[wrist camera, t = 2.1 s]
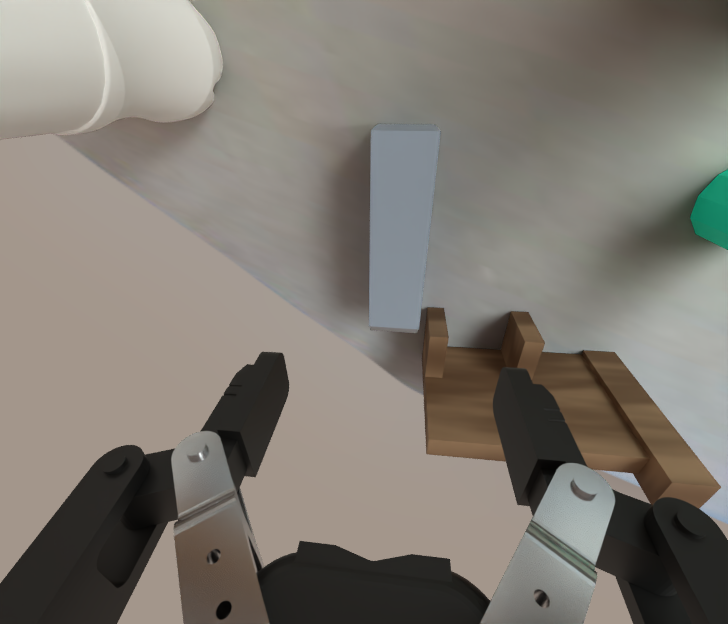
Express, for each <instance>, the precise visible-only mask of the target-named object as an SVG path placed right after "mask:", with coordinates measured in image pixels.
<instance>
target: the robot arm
mask: <svg viewBox="0 0 728 624" xmlns="http://www.w3.org/2000/svg"><path fill="white" fill-rule="evenodd" d="M288 392H289V380H288V375H287V370H286V364H285V360H284V356H283V354H282V353H276V352H262V353H261V354H260V355H259V357H258V358H257V360H256V362H255V364H254V365H248V364H247V365H246V366H245V367H243V368H242V369H241V370H240V371H239V372H237V373H236V375H235V376H234V378H233V379H232V381H231V383H230V384H229V387H228V388H227V389H226V391H225V392H224V396H222V397H221V399H220V401H219V402H218V404H217V406H216V407H215V409H214V410H213V412H212V414H211V415H210V417H209V419H208V420H207V422H206V423H205V425H204V427H203V428H202V430H201V431H200V432H197V433H194V434H192V435H190V436H188V437H186V438H185V439H184V440H183V441H182V442H180V443H179V444H178V446H177V447H176V448H175V449H171V450H166V451H161V452H157V453H151V454H146V455H145V454H144V452H143V451H142V449H141V448H139V447H138V446H135V445H125V446H121V447H118V448H115V449H113V450H111V451H109V452H108V453H106V454H104V455H103V456H102V457H101V458H99V459H98V460H97V461H96V462H95V463H94V465H93V466H92V467H91V468H90V470H89V471H88V472H87V473H86V475H85V476H84V477H83V479H82V480H81V481H80V483H79V484H78V485H77V486H76V488H75V489H74V490H73V491H72V493H71V494H70V496H68V498H67V499H66V500H65V502H64V503H63V504H62V505H61V507H60V508H59V510H58V511H57V512H56V513H55V514H54V516H53V517H52V518H51V519H50V521H49V522H48V523H47V525H46V526H45V527H44V528H43V530H42V531H41V532H40V534H39V535H38V536H37V537H36V539H35V540H34V541H33V542H32V544H31V545H30V546H29V548H28V549H27V550H26V551H25V553H24V554H23V555H22V556H21V558H20V559H19V560H18V562H17V563H16V564H15V565H14V567H13V568H12V569H11V571H10V572H9V573H8V574H7V576H6V577H5V578H4V579H3V581H2V582H1V583H0V624H117V622H118V620H119V618H120V616H121V614H122V613H123V610H124V609H125V606H126V604H127V602H128V601H129V599H130V596H131V595H132V593H133V590H134V589H135V587H136V585H137V583H138V581H139V579H140V577H141V575H142V573H143V571H144V569H145V567H146V565H147V563H148V561H149V559H150V557H151V555H152V553H153V551H154V549H155V547H156V545H157V543H158V541H159V539H160V537H161V535H162V533H163V531H164V529H165V527H166V525H167V523H168V522H169V521H174V520H178V521H177V522H176V523H175V524H174V540H175V549H176V558H177V567H178V577H179V586H180V595H181V604H182V613H183V622H184V624H583V623H584V620H585V617H586V613H587V610H588V607H589V604H590V601H591V597H592V594H593V591H594V588H595V584H596V579H597V572H596V571H594V569H595V567H597V568H599V569H601V570H603V571H605V572H607V573H610V574H612V575H614V576H616V579H617V582H618V584H619V587H620V590H621V592H622V595H623V597H624V600H625V603H626V605H627V608H628V611H629V613H630V616H631V619H632V621H633V624H728V540H727V538H726V537H725V535H724V534H723V532H722V531H721V530H720V528H719V527H718V525H717V524H716V523H715V522H714V521H713V520H712V519H711V518H710V517H709V516H708V515H706V514H705V513H704V512H703V511H701V510H700V509H698V508H697V507H695V506H693V505H692V504H690V503H688V502H685V501H683V500H680V499H677V498H672V497H663V498H660V499H658V500H657V501H656V502H655V503H654V504H653V505H652V504H649V503H646V502H643V501H641V500H638V499H635V498H633V497H630V496H627V495H624V494H622V493H619V492H617V491H615V490H613V489H611V487H610V485H609V484H608V483H607V482H606V480H605V479H604V478H603V477H602V476H600V475H599V474H598V473H597V472H595V471H594V470H592V469H590V468H588V466H587V465H586V463H585V461H584V458H583V456H582V454H581V452H580V450H579V448H578V446H577V444H576V442H575V440H574V438H573V435H572V433H571V431H570V429H569V427H568V425H567V423H565V419H564V417H563V415H562V412H560V408H559V406H558V404H557V402H556V400H555V398H554V396H553V395H552V394H551V393H550V392H549V391H548V390H547V389H546V388H545V387H544V386H543V385H542V384H533V382H532V380H531V377H530V375H529V373H528V371H527V369H525V368H510V367H503V368H502V369H501V371H500V375H499V379H498V382H497V386H496V389H495V393H494V397H493V414H494V418H495V421H496V425H497V429H498V433H499V437H500V440H501V444H502V448H503V452H504V456H505V459H506V463H507V467H508V471H509V474H510V478H511V482H512V485H513V490H514V493H515V497H516V501H517V504H518V505H525V506H530V508H531V511H532V515H533V518H532V520H531V522H530V524H529V526H528V527H527V529H526V531H525V533H524V536H523V538H522V539H521V542H520V544H519V546H518V547H517V549H516V552H515V553H514V556H513V557H512V559H511V561H510V564H509V565H508V567H507V569H506V571H505V573H504V575H503V577H502V579H501V581H500V583H499V585H498V587H497V589H496V591H495V593H494V595H493V597H492V599H491V601H490V600H489V599H488V598H487V597H486V596H485V595H484V594H483V593H482V592H481V591H480V590H479V589H478V588H477V587H476V586H475V585H473V584H472V583H471V582H469V581H468V580H467V579H465V578H463V577H462V576H460V575H458V574H456V573H454V572H452V571H451V566H450V559H447V558H437V557H429V556H422V555H413V554H411V555H406V556H400V557H395V558H390V559H384V560H378V561H370V560H367V559H365V558H363V557H361V556H358V555H356V554H354V553H352V552H349V551H347V550H345V549H343V548H340V547H338V546H336V545H329V544H321V543H312V542H304V541H300V542H299V547H298V550H297V552H296V553H291V554H288V555H286V556H283V557H281V558H279V559H277V560H274V561H273V562H271V563H270V564H268V565H267V566H265V567H264V565H263V562H262V558H261V556H260V552H259V550H258V547H257V544H256V541H255V537H254V534H253V531H252V527H251V524H250V520H249V517H248V514H247V510H246V507H245V503H244V500H243V497H242V493H241V489H240V485H241V483H242V480H243V478H244V476H250V477H256V475H257V472H258V470H259V467H260V465H261V462H262V460H263V457H264V455H265V452H266V449H267V447H268V444H269V442H270V440H271V437H272V435H273V432H274V430H275V427H276V424H277V422H278V419H279V417H280V415H281V412H282V409H283V407H284V404H285V402H286V399H287V396H288Z"/></svg>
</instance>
